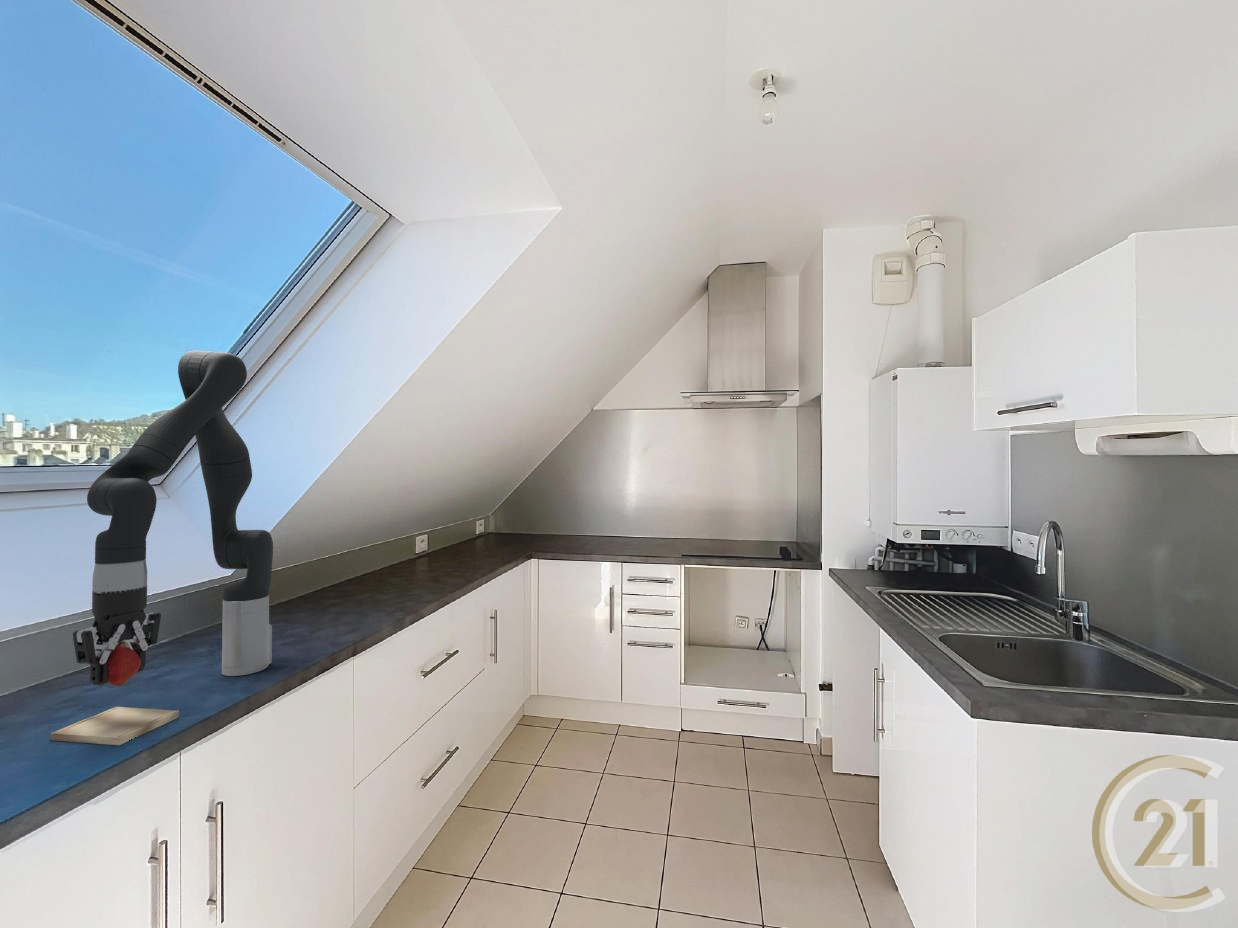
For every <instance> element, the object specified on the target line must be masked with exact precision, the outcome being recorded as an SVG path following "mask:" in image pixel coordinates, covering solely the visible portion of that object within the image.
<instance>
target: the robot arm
mask: <svg viewBox="0 0 1238 928" xmlns="http://www.w3.org/2000/svg"><path fill="white" fill-rule="evenodd" d="M177 375H178V379H179V384H180V387H181V390H182V393H183V397H184V399H185V400H184V401H182V402H181V403H180V404H178V405H177V406H176V407H174V408H172V409H171V410H169V411H168V412H166V413H165V414H163V415H161V416H159V418H157V419H155V421H153V422H152V423H151V424H150V425H149V426H147V428H146V429H145V430H144V431H143V432H142V434H141V435H140V436H139V437H138V438H137V439H136V441H135V442H134V444H133V445H132V446H131V447H130V449H129V451H128V452H127V453H126V454H125V455H124V456H122V457H121V458H120V459H118V460H117V461H115V462H114V463H113V464H112V465H111V466H110V467H109V468H107V470H105V471H104V472H103V473H102V474H100V475H99V476H98V477H97V478H96V480H95V481H94V482H93V483H92V484H91V486H90V488H89V490H88V491H87V496H86V501H87V506H88V507H89V509H90V510H92V512H94V513H96V514H97V515H101V516H109V517H110V516H111V517H110V519H111V520H110V522H109V525H108V529H106V530H103V531H101V532H99V533H98V534H97V536H96V538H95V542H94V543H95V544H94V548H95V549H94V568H93V572H92V583H91V584H92V587H91V588H92V589H91V591H92V593H91V599H92V600H91V614H92V615H93V617H94V621H93V623H92V625H91V626H89V627H88V628H84V629H82V630H80V629H79V630H78V629H77V630H74V632H73V633H72V640H73V646H74V652H75V658H76V663H77V664H88V665H89V666H90V682H91V683H92V684H93V685H94V686H103V685H106V684H108V683H107V676H108V663H106V661H107V659H108V657H109V654H110V652H111V651H112V650H114V649H115V647H116V645H117V644H118V643H120V642H125V643H127V645H128V646H129V648H130V649H132V650H134V651H135V652H136V653H137V654H138V656H139V657H140V661H141V664H140V668H139V670H138V671H137V673H140V672H142V671H144V669H145V666H146V665H147V662H146V661H147V659H146V657H147V656H146V654H147V650H148V649H149V648H150V647H151V646H152V645H153V646H154V645H156V644H157V642H158V638H159V632H160V626H161V625H160V624H161V618H162V614H161V612H146V613H145V611H144V610H145V609H146V608H148V607H147V605H148V566H147V536H148V534H149V531H150V528H151V525H152V522H153V518H154V515H155V512H156V508H157V494H156V491H155V488H154V487H153V485H152V484H151V483H150V481H151V480H153V479H155V478H158V477H161V476H164V475H166V473H168V472H169V471H170V469H171V468H172V467H173V465H174V464H175V463H176V461H177V460H178V459H179V457H180V456H181V454H182V453H183V451H184V450H185V449H186V447H187V446H188V444H190V442H191V441H192V439H194V437H195V440H196V444H197V445H196V446H197V449H198V455H199V456H198V457H199V462H200V468H201V472H202V477H203V482H204V486H205V490H206V495H207V502H208V506H209V507H208V508H209V515H210V525H211V538H212V541H211V542H212V547H213V548H212V549H213V555H214V558H215V562H216V564H217V565H218V566H219V568H222V569H226V570H246V576H245V578H243V579H241V580H240V581H238V582H235V583H231V584H228V585H227V586H225V587H224V588H223V589H222V631H221V633H222V638H221V643H222V644H221V645H222V646H221V647H222V648H221V674H222V675H223V676H225V677H237V676H246V675H252V674H255V673H258V672H261V671H263V670H266V669H267V668H269V665H270V664H272V662H273V661H272V660H273V659H272V657H273V654H272V653H273V652H272V651H273V648H272V646H273V639H272V638H273V625H272V624H270V587H271V584H272V574H273V573H272V570H273V557H274V556H273V555H274V541H273V538H272V534H271V533H270V532H269V531H268V530H265V529H238V525H237V518H236V517H237V516H236V515H237V510H238V507H239V505H240V502H241V501H242V499H243V497H244V496H245V494H246V492H247V490H248V489H249V487H250V485H251V481H252V480H253V479H252V478H253V469H252V465H251V464H252V463H251V458H250V452H249V449H248V446H247V444H246V443H245V441H244V440H243V438H242V437H241V435H240V434H239V433H238V432H237V430H236V429H235V427H234V426H233V425H232V424H231V422H230V421H229V420H228V418H227V417H226V415H225V412H224V410H223V407H225V405H227V403H229V401H230V400H232V399H233V398H234V397H235V395H237V394H238V393H239V392H240V390H241V389H242V388H243V387H244V385H245V383H246V381H247V378H248V377H247V376H248V372H247V366H246V364H245V362H244V360H243V359H242V358H240V357H239V356H238V355H236V354H234V353H231V352H225V351H213V350H212V351H209V350H206V351H205V350H190V351H189V350H188V351H187V352H185V353H184V354H183V355H181V357H180V359H179V361H178V364H177ZM95 635H96V636H95ZM104 643H105V644H104Z"/></svg>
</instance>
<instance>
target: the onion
mask: <svg viewBox="0 0 1238 928" xmlns="http://www.w3.org/2000/svg"><path fill="white" fill-rule="evenodd" d="M106 663H108V676H107V683H106V684H109V685H112V686H115V687H121V686H123V685H125V683H126V682H128V681H129V680H130V679H131V678H132V677H134V676H135V674H137V673H138V672H137V671H138V670H139V668H140V664H141V661H140V657H139V656H138V654H137V653H136V652H135V651H134V650H132V649H131V648H130V647H127V646H126V642H125V641H122V642H120V643H117V644H116V647H115V649H114V650H112V651H111V652H110V654H109V657H108V659H107V661H106Z"/></svg>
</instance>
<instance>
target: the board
mask: <svg viewBox="0 0 1238 928" xmlns="http://www.w3.org/2000/svg"><path fill="white" fill-rule="evenodd" d="M179 717H180V710H169V709H157V708H156V709H155V708H143V707H141V708H139V707H128V706H126V707H125V706H114V707H111V708H110V709H108V710H105V711H103V712H100V713H98V714H97V713H96V714H95V715H92V716H90V717H87V718H85V719H81V720H79V721H77V722H75V723H72V724H70V725H67V726H64V727H63V728H60V729H58V730H55V731H52V732H50V741H55V742H57V741H59V742H68V743H69V742H71V743H84V744H96V745H98V744H99V745H107V746H109V745H110V746H111V745H112V746H121V745H123V744H125V743H127V742H130V741H132V740H134V739H136V738H138V737H140V736H143V735H144V734H148V732H150V731H153V730H155V729H157V728H160V727H161V726H163V725H165V724H168V723H169V722H173V721H174V720H176V719H178V718H179ZM135 737H136V738H135ZM131 739H132V740H131ZM129 740H130V741H129Z"/></svg>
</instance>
